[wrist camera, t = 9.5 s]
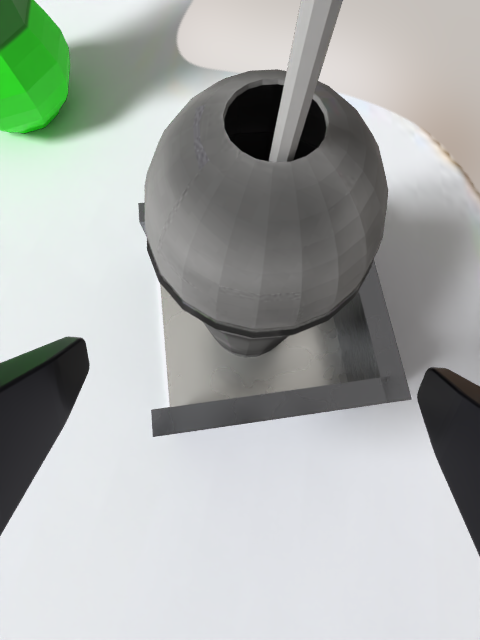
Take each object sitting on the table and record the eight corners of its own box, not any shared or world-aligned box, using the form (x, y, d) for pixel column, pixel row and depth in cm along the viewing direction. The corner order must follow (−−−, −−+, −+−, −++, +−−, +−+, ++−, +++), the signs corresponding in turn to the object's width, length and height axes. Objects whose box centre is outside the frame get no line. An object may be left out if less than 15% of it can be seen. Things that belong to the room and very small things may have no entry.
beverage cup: (286, 261, 23) (560, -560, 4) (318, 364, 21) (1274, -227, 2) (181, 284, 22) (-153, -547, 3) (204, 392, 20) (-333, -23, 1)
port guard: (172, 432, 20) (152, 436, 15) (158, 247, 23) (138, 203, 19) (370, 403, 21) (411, 399, 16) (328, 227, 24) (351, 180, 19)
